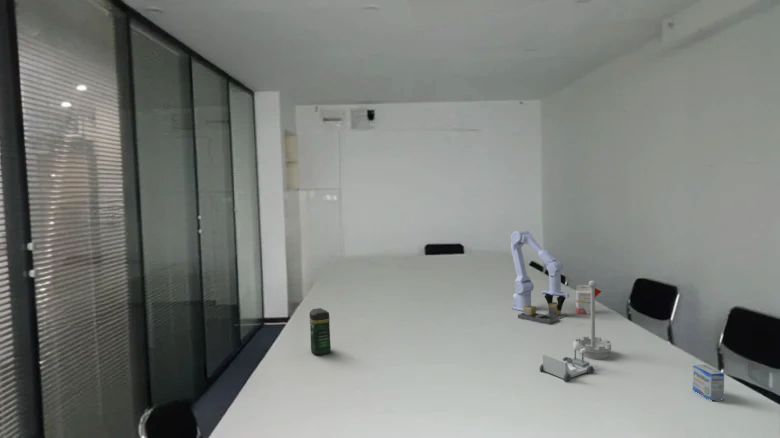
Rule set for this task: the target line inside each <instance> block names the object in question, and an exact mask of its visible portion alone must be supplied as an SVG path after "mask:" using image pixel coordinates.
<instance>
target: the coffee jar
mask: <svg viewBox="0 0 780 438" xmlns="http://www.w3.org/2000/svg"><path fill="white" fill-rule="evenodd" d="M330 319H331V318H330V313H329V311H328V310H327V309H326V310H325V309H324V308H321V307H317V308H312V310H310V312H309V328H310V330H309V331H310V333H309V334H310V351H311V353H313V354H314V355H316V354H318V355H319V354H320V355H321V354H324V355H326V354H325V353H327V354H328V352H329V353H331V351H332V350H331V349H332V347H331V330H330V329H331V326H330V325H331V324H330Z"/></svg>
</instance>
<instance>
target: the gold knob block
mask: <svg viewBox="0 0 780 438" xmlns="http://www.w3.org/2000/svg"><path fill="white" fill-rule="evenodd" d="M548 313H549V315H553V316H559V315H561V314H562V309H561V310H560V311H559V310H558V301H557V302H556V301H552V302H551V303H549V306H548Z"/></svg>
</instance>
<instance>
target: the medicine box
mask: <svg viewBox="0 0 780 438" xmlns="http://www.w3.org/2000/svg"><path fill="white" fill-rule="evenodd" d="M693 390H694V391H695V392H694V391H693ZM692 391H693V392H694V393H696V392H697V393H696V394H698V393H699V394H701V395H703V396H704V397H703V396H702V397H703V398H705V397H706V398H705V399H707V398H708V399H710V400H721V399H724V400H725V374H724V373H723V372H721V371H719V370H717V369H716V368H712V367H711V366H709V365H707V364H693V365H692ZM699 394H698V395H699ZM701 395H700V396H701ZM708 399H707V400H708ZM710 400H709V401H710ZM721 401H722V400H721Z"/></svg>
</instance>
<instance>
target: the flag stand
mask: <svg viewBox="0 0 780 438" xmlns="http://www.w3.org/2000/svg"><path fill="white" fill-rule="evenodd" d="M588 285H589V286H590V287H591V314H590V338H589V336H588V335H584V336H581V338H580V337H576V338H575V342H578V343H579V341H580V344H581V345H582V346H583V348H584V349H586V352H584V353H583V358H587V359H593V360H605V359H607V358H609V352H610V351H611V350H612V342H611V341H610V340H609V339H607V338H606V339H605V338H604V340H603V339H602V337H600V336H596V299H595V298H596V297H597V296H598V295H599V294H600V293H601V292H602V290H600V289H598V288H597V281H595V280H590V281H589V282H588ZM583 348H582V349H583ZM578 355H579V356H581V357H582V353H581V352H580V350H578Z"/></svg>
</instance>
